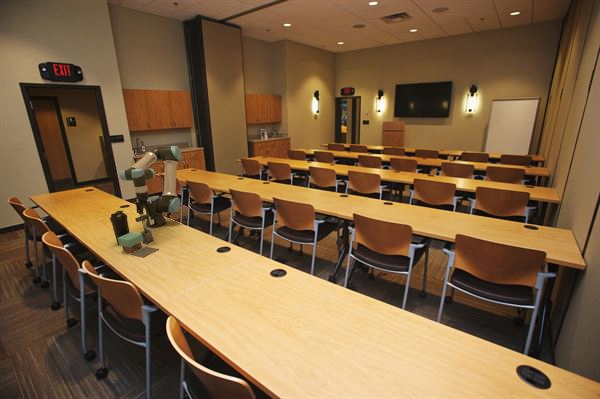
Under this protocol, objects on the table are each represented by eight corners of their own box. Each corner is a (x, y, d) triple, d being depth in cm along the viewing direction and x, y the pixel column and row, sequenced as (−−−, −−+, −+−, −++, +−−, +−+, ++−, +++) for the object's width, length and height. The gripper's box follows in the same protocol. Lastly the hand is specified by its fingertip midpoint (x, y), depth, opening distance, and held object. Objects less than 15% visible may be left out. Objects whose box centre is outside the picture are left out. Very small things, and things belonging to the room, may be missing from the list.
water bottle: (135, 239, 211) (129, 209, 205) (126, 246, 202) (119, 214, 195) (122, 239, 212) (115, 209, 206) (112, 246, 203) (105, 214, 196)
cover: (132, 238, 200) (131, 231, 199) (143, 240, 197) (141, 233, 195) (119, 245, 192) (117, 237, 190) (129, 247, 188) (128, 239, 186)
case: (134, 246, 201) (132, 239, 199) (142, 248, 198) (140, 241, 196) (123, 251, 194) (121, 244, 192) (131, 253, 191) (130, 246, 189)
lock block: (148, 240, 209) (146, 229, 207) (153, 241, 207) (151, 230, 205) (142, 243, 205) (140, 232, 202) (147, 244, 203) (145, 233, 201)
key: (138, 233, 201) (135, 218, 198) (151, 228, 208) (148, 214, 205) (146, 236, 195) (143, 220, 192) (159, 231, 202) (156, 216, 199)
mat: (146, 246, 199) (145, 246, 199) (159, 249, 194) (158, 249, 194) (130, 254, 188) (130, 254, 188) (143, 257, 184) (143, 257, 184)
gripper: (126, 192, 199) (133, 223, 205) (147, 194, 191) (154, 226, 198) (135, 189, 205) (142, 219, 212) (157, 191, 198) (163, 222, 204)
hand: (148, 223), depth 205 cm, fingers open, 7 cm apart
